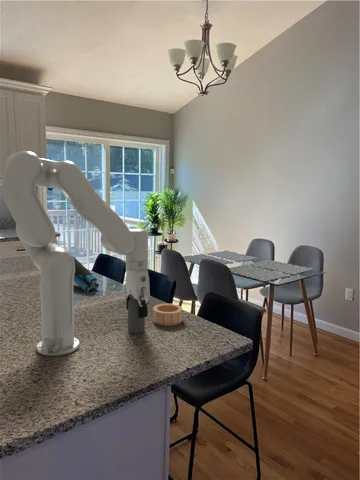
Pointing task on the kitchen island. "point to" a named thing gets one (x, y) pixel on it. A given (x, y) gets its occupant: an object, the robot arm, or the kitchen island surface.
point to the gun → (84, 277)
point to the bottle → (134, 317)
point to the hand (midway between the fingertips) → (136, 312)
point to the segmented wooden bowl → (167, 314)
